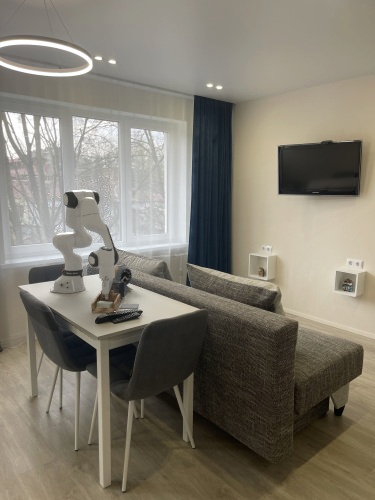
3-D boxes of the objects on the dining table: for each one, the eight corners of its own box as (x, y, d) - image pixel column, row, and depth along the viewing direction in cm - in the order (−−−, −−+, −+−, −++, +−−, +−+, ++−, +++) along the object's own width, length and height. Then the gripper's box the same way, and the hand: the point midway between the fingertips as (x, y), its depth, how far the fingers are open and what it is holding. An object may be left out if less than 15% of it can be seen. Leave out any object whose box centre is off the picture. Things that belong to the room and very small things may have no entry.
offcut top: (97, 306, 206) (96, 302, 205) (101, 304, 210) (100, 300, 209) (109, 308, 203) (109, 304, 203) (113, 306, 207) (113, 302, 207)
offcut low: (96, 311, 205) (96, 307, 204) (98, 309, 209) (98, 305, 208) (112, 312, 205) (112, 308, 204) (113, 310, 208) (113, 305, 208)
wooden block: (101, 306, 214) (100, 291, 212) (101, 304, 217) (101, 289, 215) (113, 306, 214) (112, 291, 213) (113, 304, 217) (113, 289, 215)
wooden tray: (91, 312, 202) (91, 303, 201) (98, 301, 223) (98, 293, 222) (115, 312, 203) (115, 303, 202) (120, 301, 223) (120, 293, 223)
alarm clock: (118, 293, 240) (118, 267, 238) (108, 291, 246) (108, 265, 244) (134, 289, 252) (134, 264, 249) (124, 287, 258) (124, 262, 255)
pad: (119, 308, 210) (119, 308, 210) (121, 304, 218) (121, 303, 218) (137, 308, 210) (137, 308, 210) (138, 304, 218) (138, 303, 218)
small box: (125, 296, 233) (125, 280, 232) (120, 299, 227) (119, 283, 226) (110, 295, 237) (110, 279, 235) (105, 297, 231) (104, 281, 229)
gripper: (110, 278, 202) (110, 303, 205) (114, 271, 223) (114, 293, 225) (98, 278, 202) (99, 303, 204) (103, 271, 222) (104, 293, 224)
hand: (107, 297), depth 215 cm, fingers closed on wooden block, 3 cm apart
